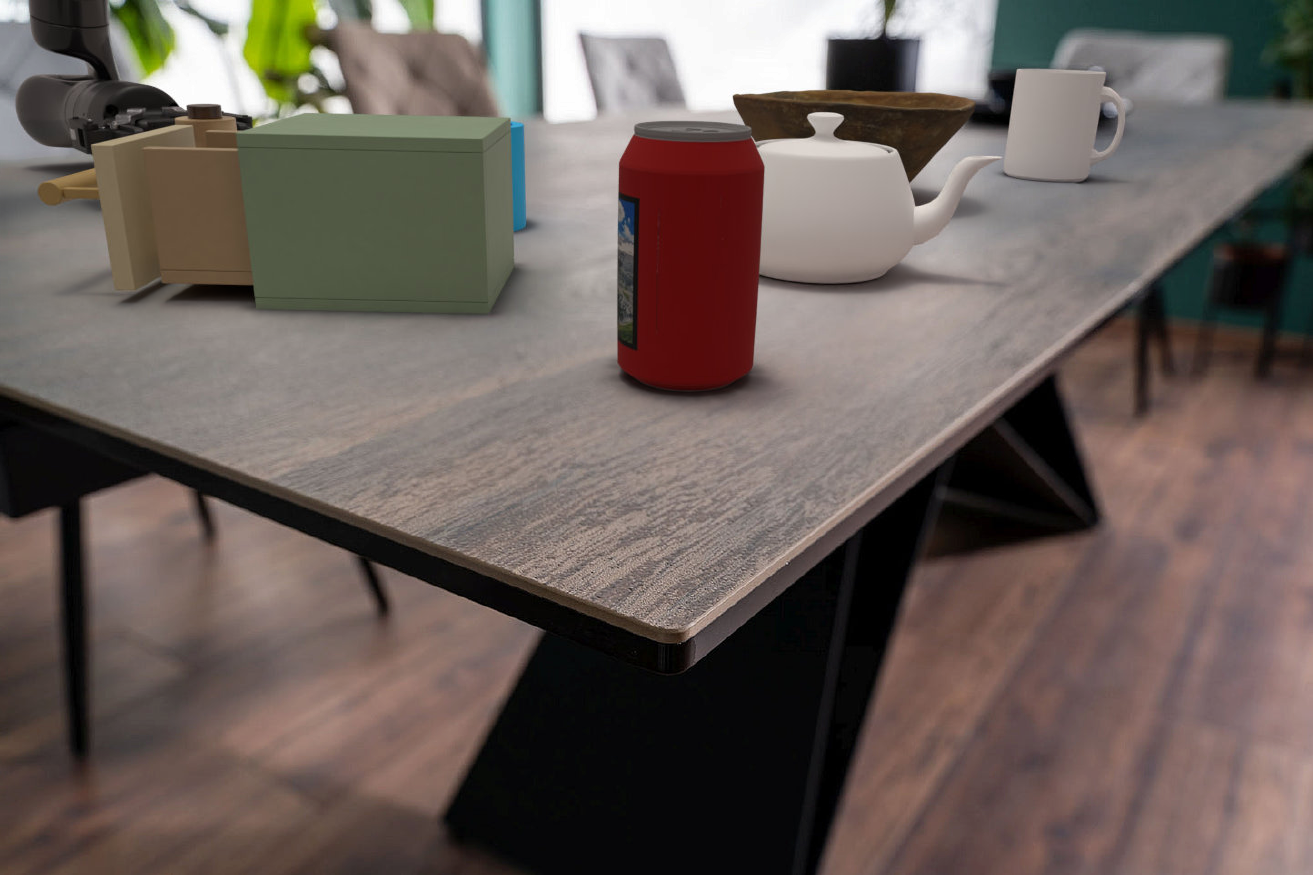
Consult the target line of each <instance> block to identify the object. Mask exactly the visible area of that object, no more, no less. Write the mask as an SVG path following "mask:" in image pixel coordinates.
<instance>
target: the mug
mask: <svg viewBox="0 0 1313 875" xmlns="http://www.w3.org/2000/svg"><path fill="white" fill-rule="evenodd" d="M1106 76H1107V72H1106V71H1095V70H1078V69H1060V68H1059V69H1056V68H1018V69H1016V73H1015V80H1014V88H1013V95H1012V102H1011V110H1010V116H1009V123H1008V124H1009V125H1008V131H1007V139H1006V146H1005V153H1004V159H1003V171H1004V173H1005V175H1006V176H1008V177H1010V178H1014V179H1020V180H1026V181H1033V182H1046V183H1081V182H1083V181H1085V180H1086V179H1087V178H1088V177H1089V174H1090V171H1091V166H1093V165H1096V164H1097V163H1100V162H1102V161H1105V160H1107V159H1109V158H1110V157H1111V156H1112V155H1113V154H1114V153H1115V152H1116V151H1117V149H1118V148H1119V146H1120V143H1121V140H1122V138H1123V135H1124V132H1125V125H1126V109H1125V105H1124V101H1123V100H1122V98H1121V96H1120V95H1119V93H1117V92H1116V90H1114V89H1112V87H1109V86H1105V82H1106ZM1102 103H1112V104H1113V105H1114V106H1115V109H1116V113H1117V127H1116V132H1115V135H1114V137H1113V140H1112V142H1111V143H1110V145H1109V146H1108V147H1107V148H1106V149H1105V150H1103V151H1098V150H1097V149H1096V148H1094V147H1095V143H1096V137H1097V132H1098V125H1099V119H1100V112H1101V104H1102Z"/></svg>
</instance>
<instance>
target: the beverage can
mask: <svg viewBox="0 0 1313 875" xmlns="http://www.w3.org/2000/svg"><path fill="white" fill-rule="evenodd" d="M633 127H634V128H633V131H634V133H633V135H632V136H631V138H630V139H629V142H628V144H627V145H626V147H625V149H624V151H623V153H622V155H621V156H620V159H619V161H618V184H617V185H618V188H617V189H618V193H617V194H618V195H617V255H616V256H617V262H616V266H617V267H616V268H617V270H616V278H617V279H616V298H617V299H616V340H617V342H616V346H617V347H616V350H617V351H616V356H617V357H616V358H617V361H616V362H617V364H618V366H619V367H620V368H621V370H623V371H624V372H625V373H626V374H628V375H630V376H631V377H633V378H634V379H636V380H637V381H638V382H640V383H642V384H643V385H645V386H648V387H651V388H654V389H655V388H656V389H660V390H663V391H664V390H665V391H671V392H686V393H687V392H693V393H694V392H705V391H706V392H707V391H714V390H717V389H721V388H724V387H727V386H729V385H731V384H732V383H734V382H735V381H738V380H739V379H740V378H743V377H744V376H746V375H747V374H748V373H750V371H751V370H752V369H753V367H754V360H755V358H754V356H755V346H756V345H755V344H756V329H757V318H758V317H757V314H758V300H759V284H760V274H759V269H760V251H761V233H762V215H763V193H764V172H765V166H764V163H763V161H762V159H761V156H760V154H759V152H758V150H757V147H756V145H755V141H754V139H753V138H752V136H751V133H752V129H751V127H749V126H745V124H739V123H731V122H721V121H705V120H654V121H645V122H639V123H636V124H634V126H633Z"/></svg>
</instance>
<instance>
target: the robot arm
mask: <svg viewBox="0 0 1313 875" xmlns="http://www.w3.org/2000/svg"><path fill="white" fill-rule="evenodd" d="M109 6H110V5H109V0H28V12H29V24H30V31H31V36H32V38H33V41H34V42H35V44H36V45H37V46H38V47H39V48H41V49H43V50H45V51H47V52H48V53H53V54H55V55H59V56H65V57H68V58H73V59H77V60H80V61H82V62H84V63H85V65H86V68H87V74H55V73H53V74H52V73H51V74H50V73H41V74H34V75H31V76H29V77H27V78H25V80H23V81H22V82H21V84H20V85H19V87H18V89H17V91H16V95H15V100H14V106H15V112H16V116H17V119H18V121H19V123H20V126H21V127H22V129H23V131H25V133H26V134H27V135H28V136H29V137H30V138H31V139H32V140H34V142H36V143H38V144H39V145H42V146H45V147H50V148H61V149H75V150H77V151H79V152H81V153H84V154H86V155H91V156H92V157H93V154H92V148H91V145H92V144H96V143H101V142H105V141H109V140H113V139H118V138H122V137H126V136H130V135H135V134H139V133H143V132H147V131H152V130H156V129H160V128H164V127H168V126H173V125H175V118H177V117H183V116H188V115H187V109H184V108H183V107H182V106H180V105H179V103H177V101H176V100H175V99H174V98H173V97H172V96H171V95H170V94H168V93H167V92H166V91H164V90H163V89H160V88H158V87H156V86H154V85H149V84H144V83H140V82H139V83H138V82H133V81H127V80H122V77H121V74H120V71H119V69H118V64H117V60H116V57H115V56H116V55H115V51H114V48H113V45H112V44H113V43H112V38H111V28H110V27H111V26H110V9H109ZM222 116H231V117H235V118H236V126H237V131H244V130H247V129H251V128H254V127H253V126H254V124H253V123H254V121H253V120H254V119H253V116H251V115H249V114H238V113H232V112H225V111H224V110H222Z"/></svg>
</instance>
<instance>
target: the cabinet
mask: <svg viewBox="0 0 1313 875" xmlns="http://www.w3.org/2000/svg"><path fill="white" fill-rule="evenodd" d="M511 121H512V119H511V117H504V116H503V117H499V116H496V117H495V116H493V117H492V116H454V115H453V116H452V115H417V114H416V115H414V114H413V115H412V114H374V113H373V114H372V113H371V114H369V113H368V114H367V113H329V112H328V113H326V112H303V113H299V114H295V115H293V116H289V117H286V118H282V119H279V120H275V121H272V122H268V123H265V124H261V125H258V126H255V127H253V128H251V129H247V130H244V131H241V132H237V133H236V139H237V146H238V148H237V149H238V157H239V166H240V175H241V183H242V192H243V200H244V209H245V217H246V226H247V235H248V243H249V252H250V260H251V269H252V277H253V285H252V286H253V292H254V293H253V294H254V300H255V309H256V310H288V311H289V310H291V311H294V310H295V311H296V310H297V311H298V310H299V311H337V312H339V311H340V312H341V311H342V312H384V313H435V314H476V315H478V314H480V315H481V314H483V315H489V314H490V313H491V311H492V309H493V307H494V305H495V303H496V302H497V299H498V297H499V295H500V294H501V292H502V290H503V289H504V287H505V285H506V283H507V281H508V280H509V277H510V276H511V274H512V272H513V270H514V269H515V239H514V238H515V236H514V235H515V234H514V232H515V231H513V193H512V155H511V131H510V130H511Z"/></svg>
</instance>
